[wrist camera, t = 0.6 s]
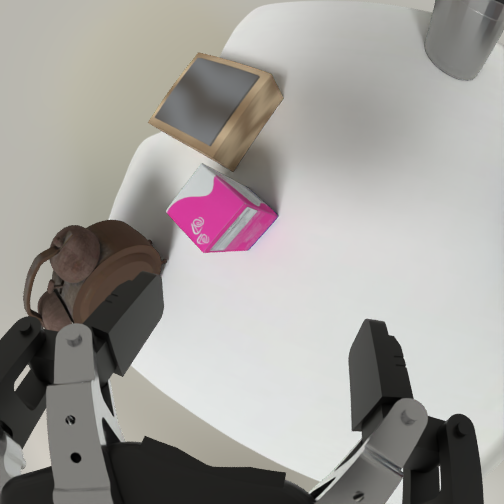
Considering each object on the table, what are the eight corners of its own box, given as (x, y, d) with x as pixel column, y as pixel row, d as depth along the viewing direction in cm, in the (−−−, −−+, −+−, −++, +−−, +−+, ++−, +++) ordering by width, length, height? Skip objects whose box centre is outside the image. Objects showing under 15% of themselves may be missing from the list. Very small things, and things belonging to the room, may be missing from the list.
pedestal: (216, 73, 35) (197, 50, 29) (283, 98, 32) (270, 72, 26) (172, 137, 37) (145, 121, 31) (233, 171, 34) (210, 156, 28)
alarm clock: (151, 218, 38) (30, 201, 19) (184, 247, 37) (55, 244, 18) (114, 295, 41) (7, 313, 22) (141, 325, 39) (31, 360, 20)
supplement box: (216, 221, 35) (162, 210, 24) (246, 185, 34) (202, 158, 23) (247, 253, 34) (202, 254, 23) (280, 216, 33) (248, 199, 22)
